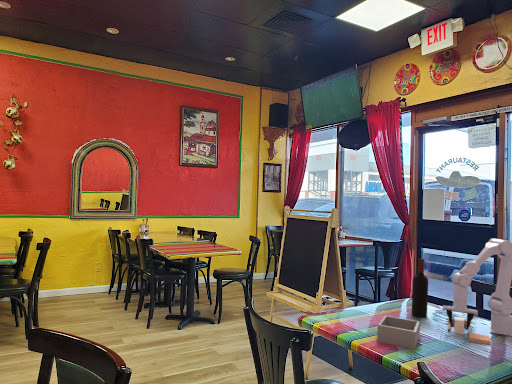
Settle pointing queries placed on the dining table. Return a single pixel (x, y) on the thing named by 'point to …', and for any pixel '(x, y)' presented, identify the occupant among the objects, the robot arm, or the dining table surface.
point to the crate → (398, 332)
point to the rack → (464, 325)
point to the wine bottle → (420, 292)
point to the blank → (459, 325)
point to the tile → (479, 338)
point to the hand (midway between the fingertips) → (459, 327)
